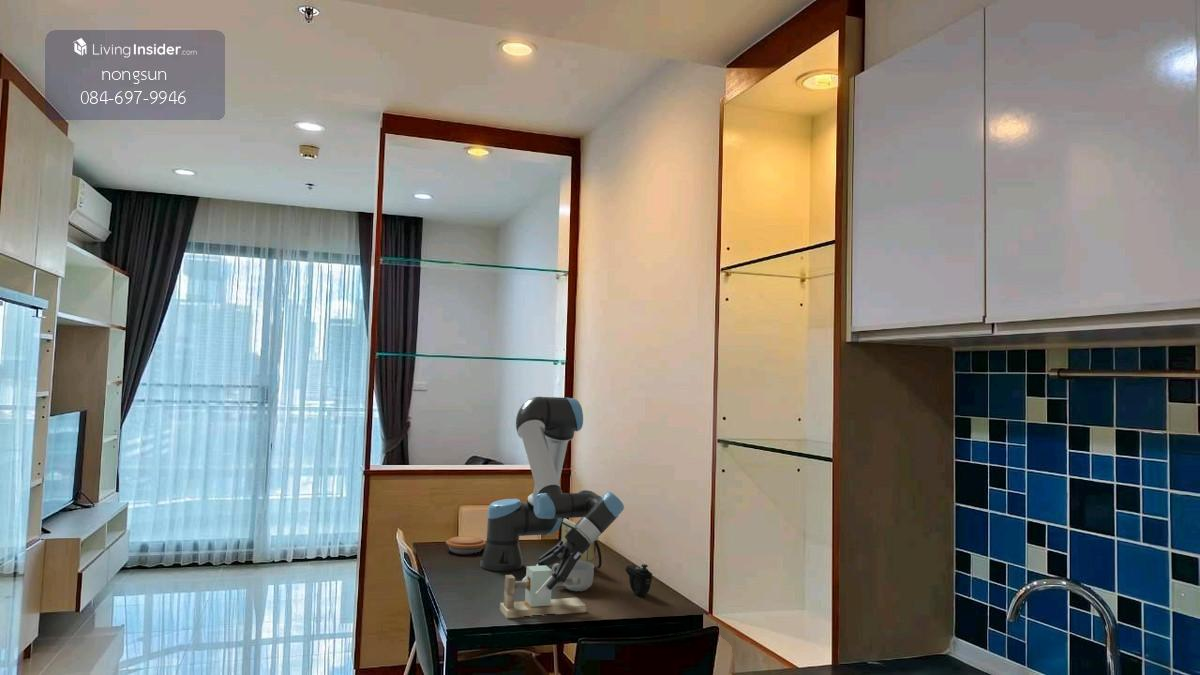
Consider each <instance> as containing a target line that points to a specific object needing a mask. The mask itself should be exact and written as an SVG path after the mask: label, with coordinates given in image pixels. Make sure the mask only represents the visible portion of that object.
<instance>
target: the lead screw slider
mask: <svg viewBox="0 0 1200 675" xmlns="http://www.w3.org/2000/svg"><path fill="white" fill-rule="evenodd" d="M530 582H531V580H525V581H522V580H516V577H515V576H514V575H513V574H505V575H504V592H503V602H499V611H500V612H501V613H502V615H503V616H504V617H505V618H506V619H514V618H515V619H516V618H525V617H524V616H530V617H533V616H532V615H542V616H547V615H546V614H555V615H564V614H565V615H568V614H579V613H587V604H585V602H583V601H582V600H581V599H579V598H578V597H566V598H565V597H563V598H551V605H548V606H535V607H531V606H530V605H529V604H528V603H527V602H526V601H525V600H521V601H515V590H516V589H517V590H518V589H525V588H526V589H529V588H530ZM580 582H581V581H580V578H567V579H566V581H565V582H564V583H563V582H562V581H561V582H560V583H559V582H558V584H557V585H556V586H555V587H565V585H580ZM544 614H545V615H544Z"/></svg>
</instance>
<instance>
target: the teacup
mask: <svg viewBox="0 0 1200 675" xmlns="http://www.w3.org/2000/svg"><path fill="white" fill-rule="evenodd" d="M559 563H560V562H559ZM559 563H556V562H555V563H553V565H552V567H551V570H552V574H553V573H555V572H556V570H555V569H556V568H557V567H558V565H559ZM594 567H595V564H594V565H593V564H592V563H590V562H586V561H580V560H578V561H577V562H576V564H575V566H574V567H573V569H572V571H571V572H570V574H569V576H568V577H567V578H580V581H581V582H580V585H565V586H564V587H565V588H566V590H569V591H571V592H578V591H579V592H585V591H586V590H588V589H589V588H590V587H591V586H592V585H593V583H594V573H595V568H594Z"/></svg>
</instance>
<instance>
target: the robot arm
mask: <svg viewBox="0 0 1200 675" xmlns="http://www.w3.org/2000/svg"><path fill="white" fill-rule="evenodd" d="M583 425H584V412H583V408H582V405H581V403H580V401H578V399H576V398H575V397H574V398H572V397H571V398H570V397H566V396H565V397H556V396H535V397H532V398H529V399H527V400H526V401H525V402H523V403H522V405H521V406H520V408H519V409H518V411H517V414H516V418H515V429H516V433H517V435H518V438H520V439H522V442H523V446H524V450H525V453H526V457H527V461H528V464H529V467H530V471H531V474H532V479H533V481H534V488H533V492H532V493H531V494H529V495H528V496H527V500H526V502H522V501H521V500H520V499H518V498H505V499H504V498H503V499H499V500H496V501H493V502H491V503H490V504H489V506H488V510H487V516H486V517H487V525H486V526H487V529H486V544H485V546H484V547H485V548H484V550H483V552H482V555H481V558H480V565H479V567H480V568H482V569H484V570H488V571H492V572H493V571H495V572H511V571H517V570H520V569H523V567H524V566H523V565H524V564H523V563H524V559H523V557H522V552H521V547H520V537H526V536H547V535H553V534H555V533H557V532H558V531H559V529H560V528H561V524H562V519H563V518H566V519H570V518H571V519H572V518H575V519H576V518H578V519H579V518H580V519H579V520H578V521H577V522H576V525H575V529H574V528H572V529H571V530H570V531H569V532H568V533H567V534H566V536H565V538H566V539H567V542H566V543H564V542H563V541H561V540H559V542H558V543H556V545H554V546H553V547H551V548H550V549H549V550H547V551H546V552H545V553H544V554H542V555H541V556H539V557H537V559H536V561H537V564H536V565H535V566H543V565H546V566H547V567H549V566H551V565H552V564H553V565H554V564H556V562H559V565H558V567H556V568H555V569H556V570H555V573H552V576H551V577H550V578H549V579H548V580H547V581H546V582H545V583H544V584H543V585H542V586H541V587H540V588H539V590H538V591H537V592H536V594H537V595H538V596H539V597H540V598H541V599H542V600H543V599H544V598H545V597H546V595H547V594H548V593H549V592H550V591H551V592H552V590H553V589H555V587H557V586H556V585H557V584H558V582H559V583H560V582H561V581H562V582H563V583H564V582H565V581H566V579H567V577H568V576H569V574H570V572H571V571H572V569H573V567H574V566H575V564H576V562H577V561H578V560H579V559H580V557H581V555H580V554H579V553H581V554H583V553H584V552H585V551H586V550H587V549H588V548H589V547H590V543H593V542H594V541H595V540H596V541H597V540H599V537H600V536H601V535H602V533H604V532H605V531H606V530H607V529H608V528H609V527H610V526H611V524H612V523H614V522H615V520H616V519H618V517H619V515H621V513H623V511H624V510H625V505H624V503H623V502H622V501H621V499H620V498H619V497H618V496H616V495H615V494H614V493H613V492H611V491H606V492H605V493H604V494H603V495H602V496H600V495H599V494H597V493H596V492H594V491H592V490H588V489H587V490H586V489H585V490H584V489H583V490H579V492H572V493H571V492H563V490H562V488H561V485H560V480H561V475H562V471H563V466H564V461H565V457H566V453H567V448H568V444H569V441H571V440H572V439H573V438H574V435H575V432H579V431H581V429H583ZM578 552H579V553H578ZM522 566H523V567H522ZM519 568H520V569H519ZM525 580H526V575H525V576H524V577H523V578H522V579H521V581H525Z"/></svg>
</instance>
